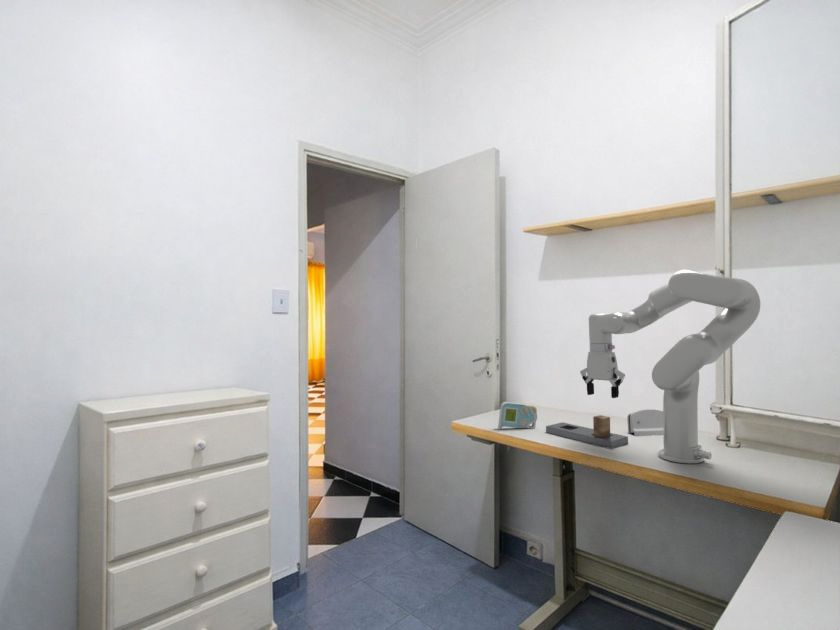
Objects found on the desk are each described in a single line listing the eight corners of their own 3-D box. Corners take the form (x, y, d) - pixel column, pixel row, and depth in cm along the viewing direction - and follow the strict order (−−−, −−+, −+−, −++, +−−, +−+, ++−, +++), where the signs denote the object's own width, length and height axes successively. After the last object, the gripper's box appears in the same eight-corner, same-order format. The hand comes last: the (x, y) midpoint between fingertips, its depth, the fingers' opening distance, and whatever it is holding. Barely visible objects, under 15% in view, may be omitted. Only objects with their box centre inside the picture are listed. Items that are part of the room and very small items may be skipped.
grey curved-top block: (634, 436, 175) (629, 409, 179) (628, 437, 180) (623, 411, 183) (677, 434, 177) (671, 407, 180) (670, 435, 181) (664, 409, 185)
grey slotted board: (628, 443, 166) (627, 436, 166) (611, 448, 160) (611, 441, 160) (562, 428, 188) (562, 422, 188) (546, 432, 183) (545, 426, 183)
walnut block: (610, 442, 168) (610, 417, 168) (603, 444, 166) (603, 418, 166) (600, 439, 171) (600, 415, 171) (593, 441, 169) (593, 416, 169)
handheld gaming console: (535, 433, 189) (499, 430, 187) (533, 432, 192) (497, 428, 190) (538, 406, 189) (503, 402, 187) (536, 404, 192) (501, 401, 190)
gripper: (629, 348, 163) (631, 397, 163) (586, 346, 177) (588, 392, 177) (616, 349, 159) (618, 400, 159) (573, 348, 173) (575, 394, 173)
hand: (602, 396), depth 168 cm, fingers open, 9 cm apart
